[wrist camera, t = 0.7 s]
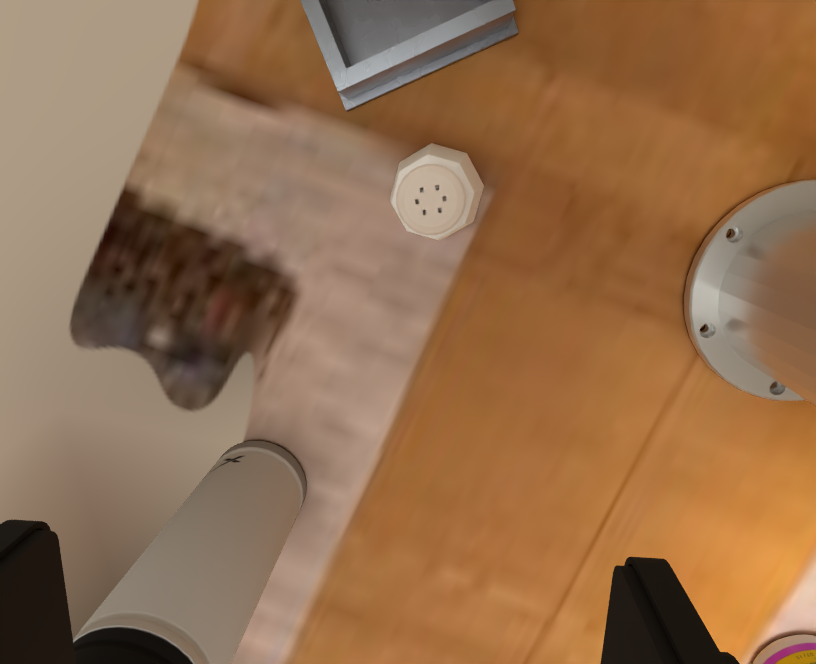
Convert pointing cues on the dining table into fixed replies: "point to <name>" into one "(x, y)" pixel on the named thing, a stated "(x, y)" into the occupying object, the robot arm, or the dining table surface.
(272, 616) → the dining table surface
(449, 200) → the pepper shaker
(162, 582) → the travel mug
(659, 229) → the dining table surface
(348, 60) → the grey square tray
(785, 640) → the supplement bottle
